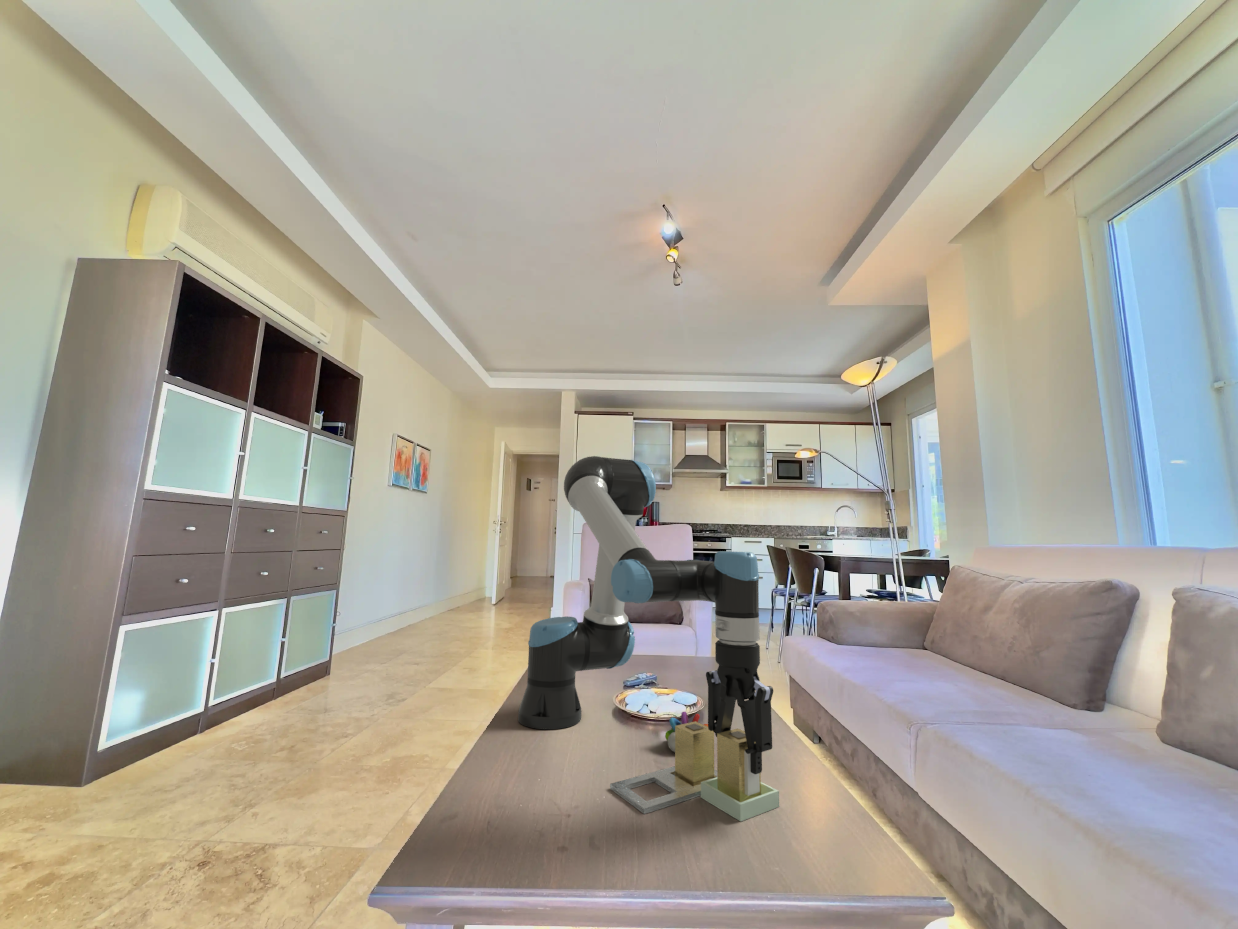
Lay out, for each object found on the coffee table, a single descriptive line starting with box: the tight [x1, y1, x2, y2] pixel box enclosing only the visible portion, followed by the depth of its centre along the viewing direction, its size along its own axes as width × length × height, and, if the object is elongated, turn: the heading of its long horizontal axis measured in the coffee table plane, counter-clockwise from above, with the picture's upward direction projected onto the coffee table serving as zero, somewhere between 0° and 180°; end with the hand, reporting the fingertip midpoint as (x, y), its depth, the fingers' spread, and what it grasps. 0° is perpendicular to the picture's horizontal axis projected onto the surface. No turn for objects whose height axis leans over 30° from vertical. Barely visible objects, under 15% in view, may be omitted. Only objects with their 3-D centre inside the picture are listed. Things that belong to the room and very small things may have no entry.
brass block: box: [716, 728, 762, 802], centre depth 87 cm, size 5×5×9 cm
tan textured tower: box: [674, 721, 715, 786], centre depth 94 cm, size 5×5×9 cm
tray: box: [700, 777, 780, 822], centre depth 86 cm, size 9×9×2 cm
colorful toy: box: [664, 711, 708, 753], centre depth 109 cm, size 8×10×7 cm
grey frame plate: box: [609, 765, 717, 815], centre depth 91 cm, size 10×20×1 cm, turn 123°
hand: (739, 785), depth 86 cm, fingers closed on brass block, 5 cm apart
